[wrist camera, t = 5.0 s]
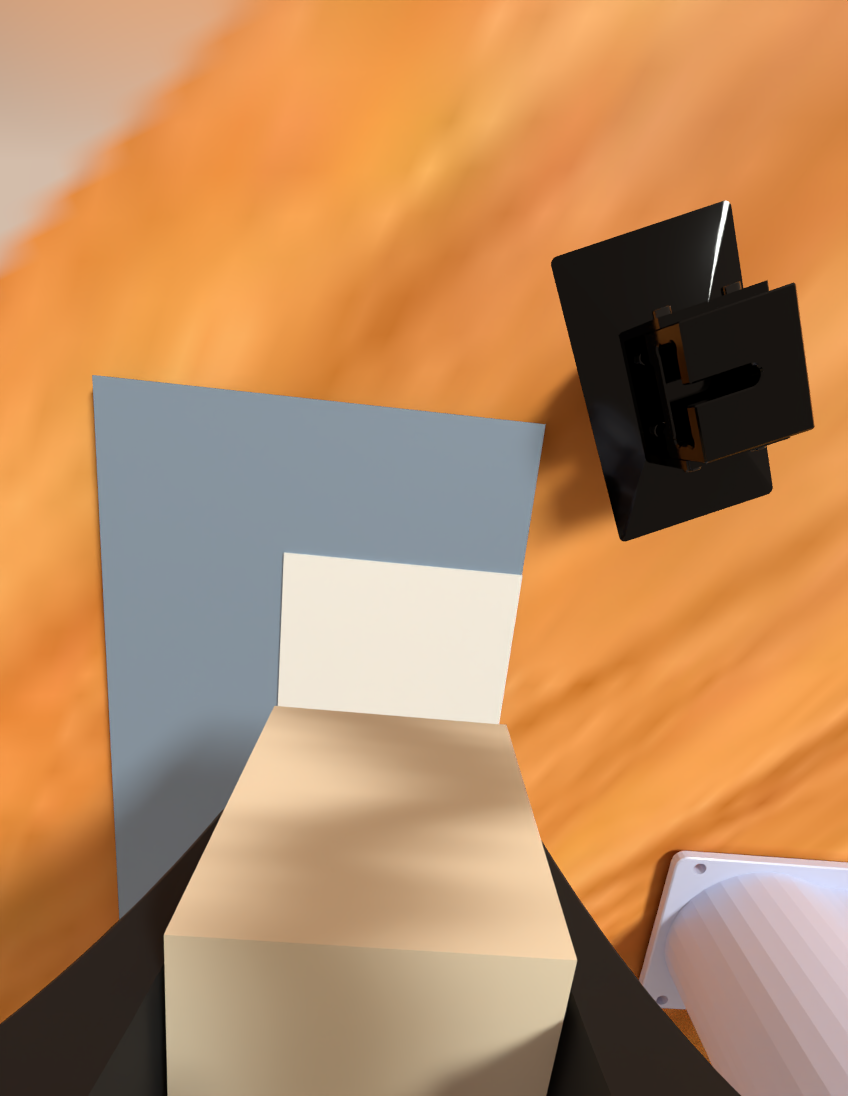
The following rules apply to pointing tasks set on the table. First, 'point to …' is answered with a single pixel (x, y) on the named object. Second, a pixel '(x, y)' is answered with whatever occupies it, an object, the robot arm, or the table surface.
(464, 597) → the board
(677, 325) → the build plate
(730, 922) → the robot arm
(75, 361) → the table surface
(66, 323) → the table surface
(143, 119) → the table surface
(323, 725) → the maple cube
